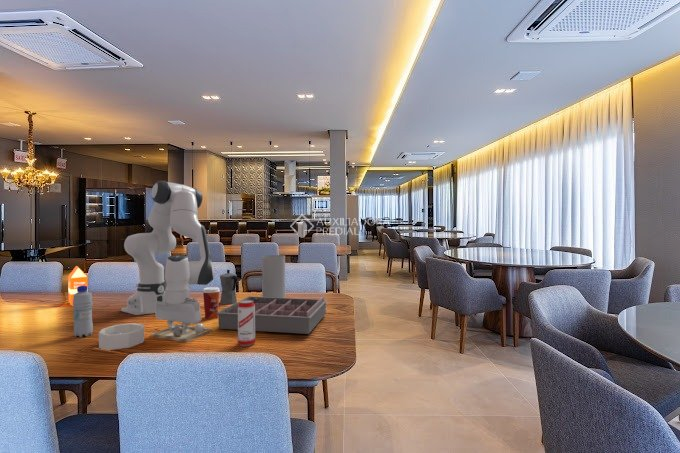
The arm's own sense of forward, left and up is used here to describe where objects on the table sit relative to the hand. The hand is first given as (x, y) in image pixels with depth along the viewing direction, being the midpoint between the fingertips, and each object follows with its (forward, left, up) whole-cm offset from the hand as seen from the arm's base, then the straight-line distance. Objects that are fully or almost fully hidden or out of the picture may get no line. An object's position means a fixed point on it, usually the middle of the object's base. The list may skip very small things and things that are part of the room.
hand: (178, 332), depth 146 cm
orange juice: (-95, +24, -2) cm, 98 cm away
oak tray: (-1, +3, -2) cm, 4 cm away
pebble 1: (-14, -13, -1) cm, 19 cm away
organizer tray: (+25, +31, -2) cm, 40 cm away
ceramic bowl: (-14, -13, -2) cm, 19 cm away
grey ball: (0, 0, -2) cm, 2 cm away
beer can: (+29, +4, -2) cm, 29 cm away
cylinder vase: (+1, +68, -2) cm, 68 cm away
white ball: (+5, +6, -2) cm, 8 cm away
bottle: (-37, -12, -2) cm, 39 cm away
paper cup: (-7, +27, -2) cm, 28 cm away
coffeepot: (-19, +55, -2) cm, 58 cm away
